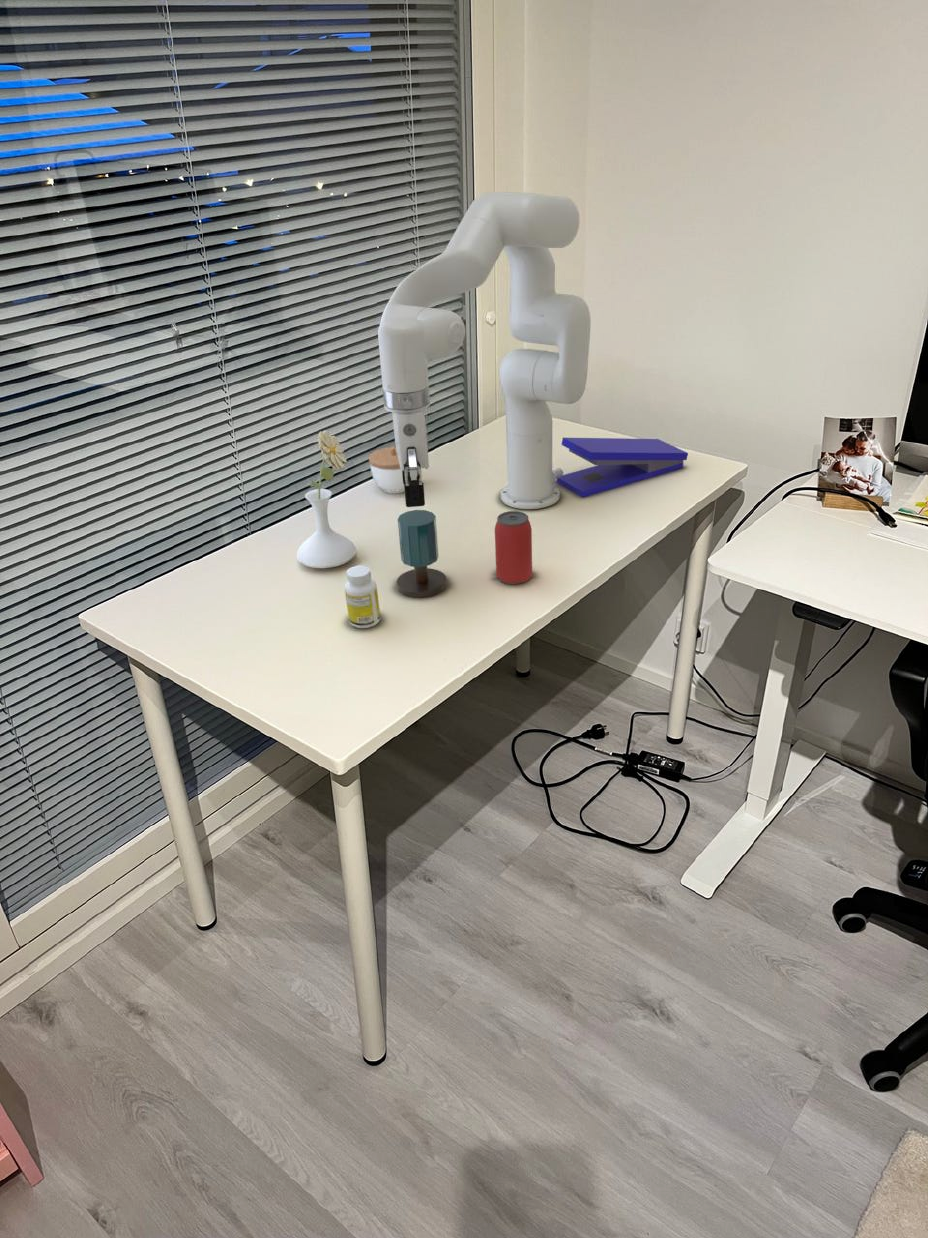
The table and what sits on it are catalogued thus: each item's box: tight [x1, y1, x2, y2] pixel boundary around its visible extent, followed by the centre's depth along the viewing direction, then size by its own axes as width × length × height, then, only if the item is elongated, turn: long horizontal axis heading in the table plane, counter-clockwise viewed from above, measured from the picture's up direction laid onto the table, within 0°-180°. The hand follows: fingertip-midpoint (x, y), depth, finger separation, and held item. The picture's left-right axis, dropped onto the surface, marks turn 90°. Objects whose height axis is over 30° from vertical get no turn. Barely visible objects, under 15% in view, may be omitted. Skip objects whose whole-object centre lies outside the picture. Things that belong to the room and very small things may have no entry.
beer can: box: [494, 510, 533, 585], centre depth 172 cm, size 7×7×12 cm
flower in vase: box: [296, 429, 357, 569], centre depth 179 cm, size 13×11×25 cm
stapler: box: [556, 437, 689, 498], centre depth 210 cm, size 12×28×10 cm, turn 119°
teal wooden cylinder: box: [397, 509, 439, 568], centre depth 169 cm, size 6×6×8 cm
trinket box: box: [368, 446, 405, 495], centre depth 210 cm, size 11×11×9 cm
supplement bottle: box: [344, 565, 381, 629], centre depth 162 cm, size 5×5×10 cm
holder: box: [396, 566, 448, 599], centre depth 171 cm, size 9×9×13 cm
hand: (413, 494), depth 165 cm, fingers open, 9 cm apart
